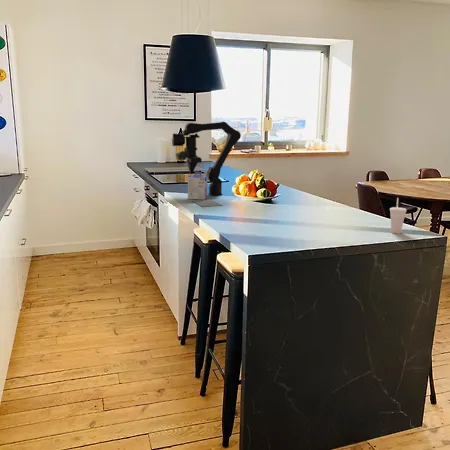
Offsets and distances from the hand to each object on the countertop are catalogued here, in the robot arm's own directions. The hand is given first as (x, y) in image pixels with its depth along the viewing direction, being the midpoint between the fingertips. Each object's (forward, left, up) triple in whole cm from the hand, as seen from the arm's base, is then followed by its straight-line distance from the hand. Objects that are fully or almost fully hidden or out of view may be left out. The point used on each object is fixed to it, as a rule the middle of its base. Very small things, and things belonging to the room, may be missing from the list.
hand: (191, 174), depth 266 cm
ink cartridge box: (0, +11, -12) cm, 17 cm away
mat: (0, +26, -12) cm, 29 cm away
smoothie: (-50, +109, -12) cm, 121 cm away
